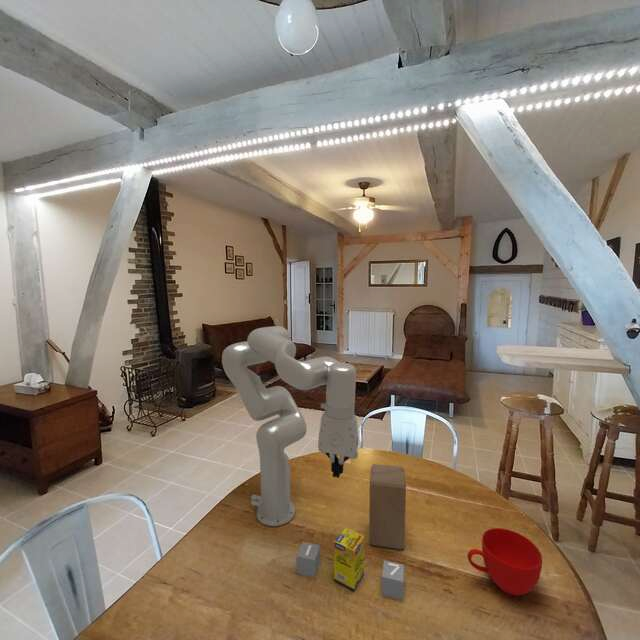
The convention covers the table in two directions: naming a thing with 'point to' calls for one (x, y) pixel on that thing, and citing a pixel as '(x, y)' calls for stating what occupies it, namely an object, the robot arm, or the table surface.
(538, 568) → the ceramic cup
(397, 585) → the slate block
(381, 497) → the block
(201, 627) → the table surface
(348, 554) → the supplement box
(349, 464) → the table surface
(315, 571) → the slate block
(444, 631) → the table surface
